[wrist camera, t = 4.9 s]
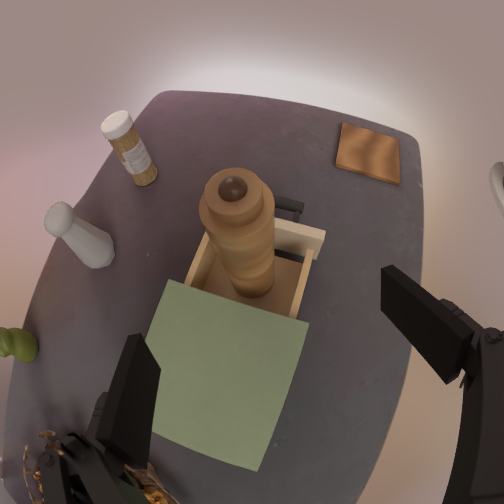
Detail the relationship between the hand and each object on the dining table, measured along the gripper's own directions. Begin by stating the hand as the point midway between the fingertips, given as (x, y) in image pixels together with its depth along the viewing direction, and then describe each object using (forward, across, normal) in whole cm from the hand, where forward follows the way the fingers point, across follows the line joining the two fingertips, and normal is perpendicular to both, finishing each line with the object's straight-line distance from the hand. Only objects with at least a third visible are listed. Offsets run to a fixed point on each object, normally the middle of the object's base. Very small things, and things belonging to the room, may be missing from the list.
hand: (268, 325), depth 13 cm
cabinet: (+12, -6, -15) cm, 20 cm away
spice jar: (+35, -13, +8) cm, 38 cm away
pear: (+17, -38, -10) cm, 43 cm away
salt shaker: (+26, -21, -1) cm, 34 cm away
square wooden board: (+31, +25, +4) cm, 40 cm away
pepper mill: (+18, 0, -6) cm, 19 cm away
